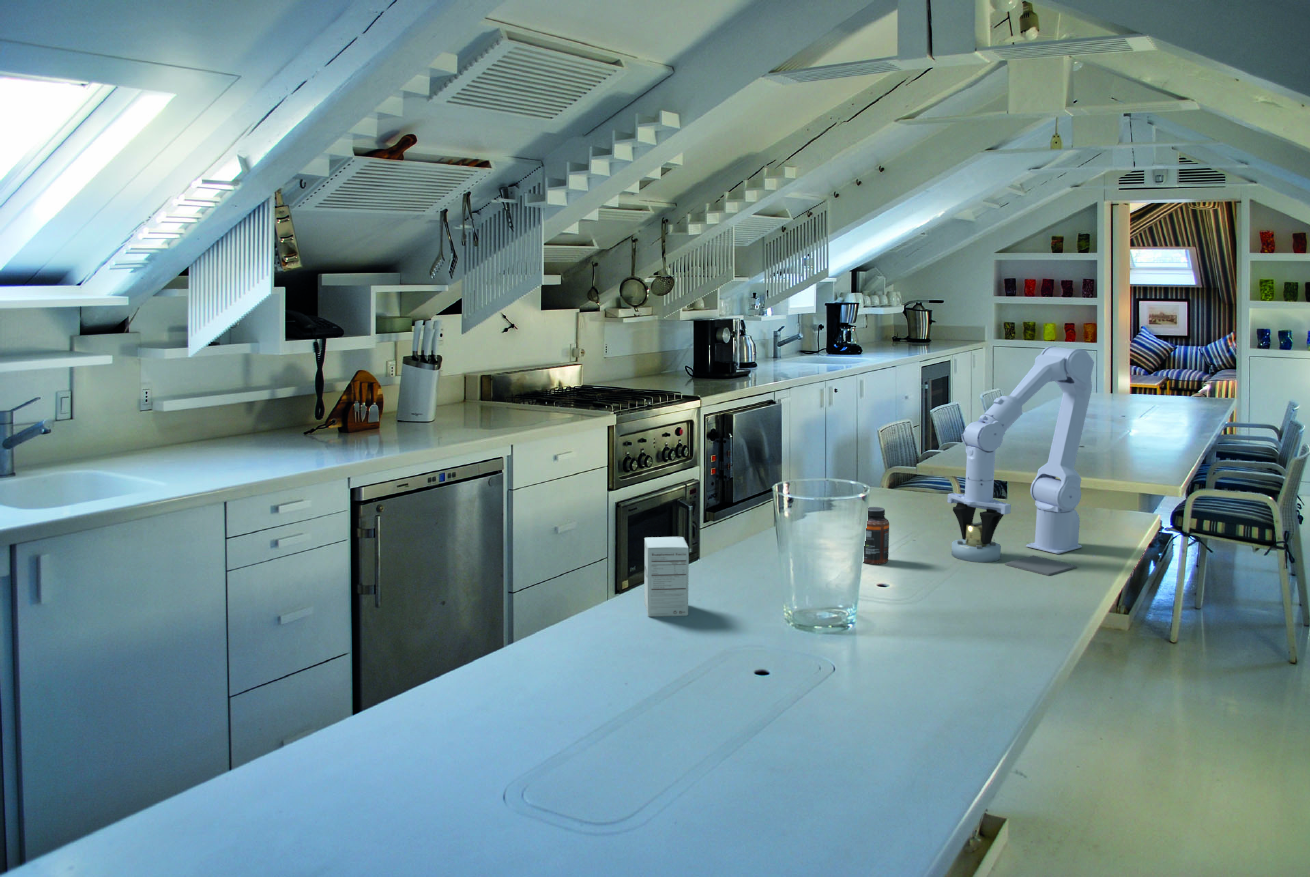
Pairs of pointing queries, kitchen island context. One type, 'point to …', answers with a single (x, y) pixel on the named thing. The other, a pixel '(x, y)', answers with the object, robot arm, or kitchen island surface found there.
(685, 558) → the supplement box
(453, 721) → the kitchen island surface
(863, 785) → the kitchen island surface
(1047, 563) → the mat
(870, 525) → the supplement bottle
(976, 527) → the knob
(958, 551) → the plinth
